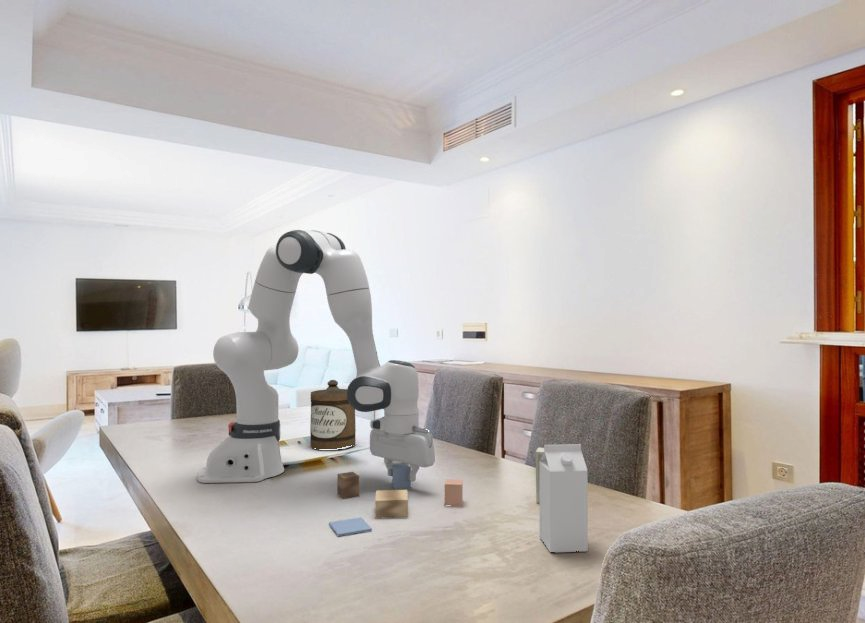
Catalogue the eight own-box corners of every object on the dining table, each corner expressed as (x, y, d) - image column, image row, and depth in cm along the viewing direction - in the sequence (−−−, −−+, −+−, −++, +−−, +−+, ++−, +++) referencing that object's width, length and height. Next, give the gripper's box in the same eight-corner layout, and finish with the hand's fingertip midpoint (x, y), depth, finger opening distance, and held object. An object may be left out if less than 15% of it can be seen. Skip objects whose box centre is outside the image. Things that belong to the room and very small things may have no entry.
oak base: (375, 519, 120) (375, 500, 120) (376, 508, 127) (376, 490, 127) (407, 518, 121) (407, 499, 121) (407, 507, 128) (407, 489, 128)
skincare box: (564, 500, 132) (564, 448, 132) (562, 506, 128) (562, 453, 128) (537, 497, 134) (537, 446, 134) (535, 503, 130) (535, 450, 130)
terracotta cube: (444, 506, 128) (444, 484, 128) (445, 500, 132) (445, 479, 132) (462, 506, 128) (462, 484, 128) (462, 500, 132) (462, 479, 132)
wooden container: (301, 449, 182) (302, 381, 182) (323, 439, 196) (323, 377, 196) (343, 452, 178) (343, 383, 178) (362, 442, 192) (362, 378, 192)
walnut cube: (343, 499, 133) (343, 478, 133) (337, 494, 136) (337, 474, 136) (359, 496, 135) (359, 475, 135) (352, 492, 138) (352, 471, 138)
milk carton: (539, 538, 109) (539, 440, 109) (574, 537, 110) (574, 440, 110) (550, 553, 102) (549, 449, 102) (587, 552, 103) (587, 448, 103)
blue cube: (395, 488, 140) (395, 468, 140) (392, 484, 144) (392, 464, 144) (410, 487, 141) (410, 467, 142) (407, 483, 145) (407, 463, 145)
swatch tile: (337, 536, 110) (337, 534, 110) (328, 524, 116) (328, 522, 116) (371, 531, 113) (371, 528, 113) (361, 519, 119) (361, 517, 119)
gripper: (440, 427, 139) (440, 483, 138) (383, 417, 152) (382, 468, 152) (423, 431, 134) (423, 489, 134) (365, 420, 147) (365, 473, 147)
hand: (401, 478), depth 143 cm, fingers closed on blue cube, 6 cm apart
